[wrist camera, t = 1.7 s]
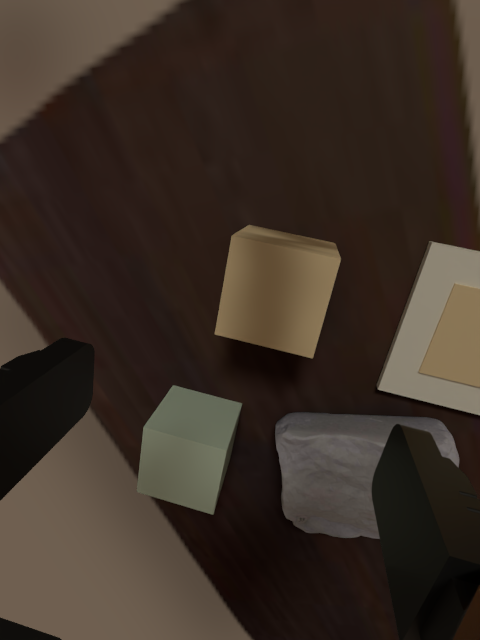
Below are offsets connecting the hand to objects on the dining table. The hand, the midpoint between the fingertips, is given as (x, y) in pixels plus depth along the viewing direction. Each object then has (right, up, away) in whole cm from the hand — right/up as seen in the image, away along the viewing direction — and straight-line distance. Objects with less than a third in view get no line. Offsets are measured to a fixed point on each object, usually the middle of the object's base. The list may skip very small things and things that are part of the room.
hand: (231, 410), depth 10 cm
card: (+15, +1, +14) cm, 21 cm away
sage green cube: (-3, -6, +20) cm, 21 cm away
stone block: (+9, -9, +19) cm, 23 cm away
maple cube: (+3, +5, +15) cm, 16 cm away
